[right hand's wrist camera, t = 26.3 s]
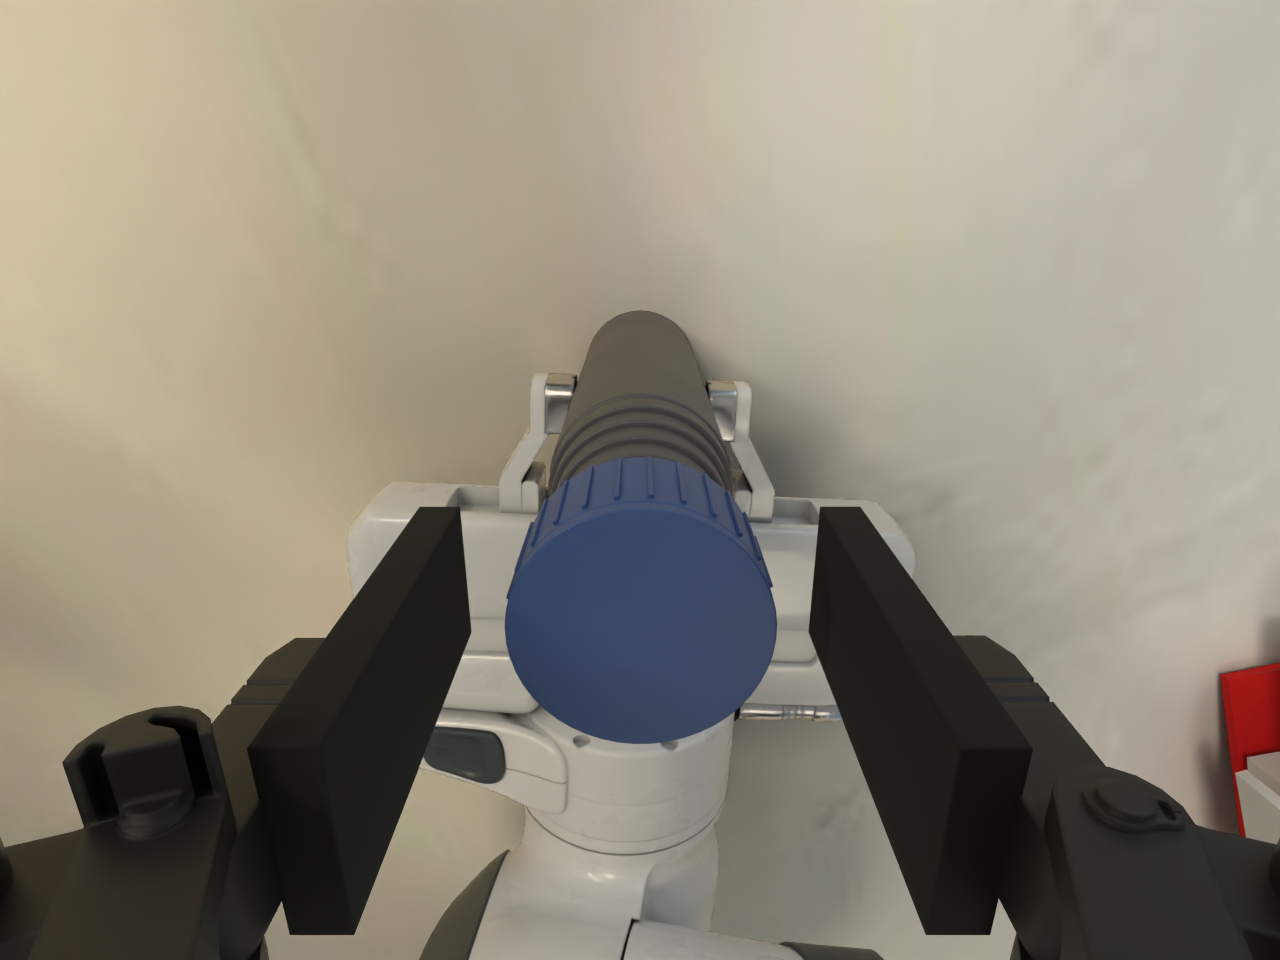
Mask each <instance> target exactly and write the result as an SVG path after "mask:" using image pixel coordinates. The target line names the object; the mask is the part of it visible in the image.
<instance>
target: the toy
mask: <svg viewBox="0 0 1280 960" xmlns="http://www.w3.org/2000/svg"><path fill="white" fill-rule="evenodd" d="M1220 676H1221V684H1222V692H1223V700H1224V709H1225V717H1226V725H1227V733H1228V741H1229V749H1230V757H1231V765H1232V774H1233V782H1234V790H1235V798H1236V806H1237V814H1238V822H1239V830H1240V836H1242V837H1246V838H1251V839H1255V840H1259V841H1264V842H1268V843H1272V844H1277V843H1278V840H1279V838H1280V663H1275V664H1271V665H1266V666H1261V667H1256V668H1251V669H1246V670H1241V671H1237V672H1232V673H1227V674H1222V675H1220Z"/></svg>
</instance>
